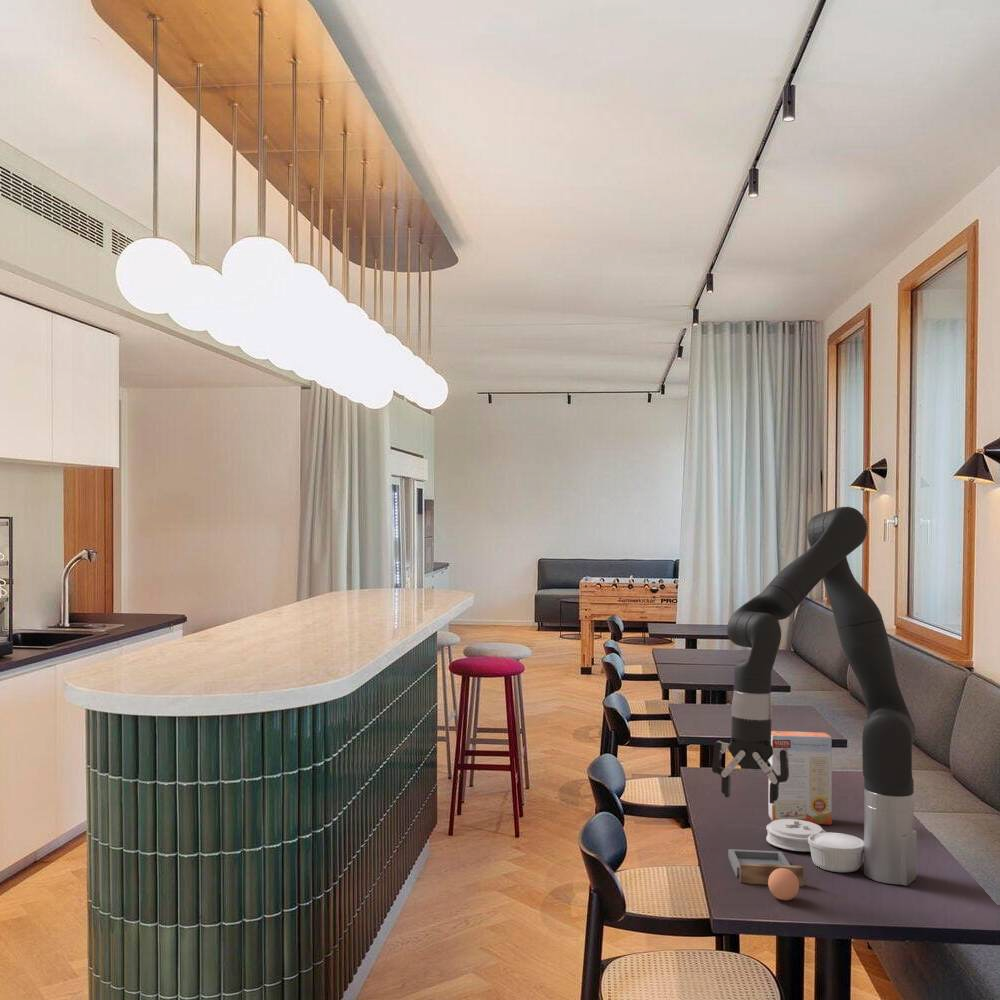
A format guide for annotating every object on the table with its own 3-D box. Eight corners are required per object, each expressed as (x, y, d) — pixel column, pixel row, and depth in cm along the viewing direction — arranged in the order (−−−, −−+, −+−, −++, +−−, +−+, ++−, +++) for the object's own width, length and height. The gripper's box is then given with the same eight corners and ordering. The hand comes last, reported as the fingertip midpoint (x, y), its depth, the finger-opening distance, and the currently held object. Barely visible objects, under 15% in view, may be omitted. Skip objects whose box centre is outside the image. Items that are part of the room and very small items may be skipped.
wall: (801, 883, 188) (801, 865, 188) (803, 886, 187) (803, 867, 187) (739, 880, 189) (739, 862, 189) (740, 883, 188) (740, 865, 188)
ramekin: (804, 855, 205) (804, 830, 205) (859, 858, 203) (859, 833, 204) (812, 873, 194) (812, 846, 194) (870, 876, 192) (870, 850, 192)
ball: (804, 898, 180) (804, 868, 181) (791, 907, 176) (791, 876, 176) (775, 891, 184) (776, 861, 184) (762, 899, 180) (763, 869, 180)
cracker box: (826, 818, 232) (826, 731, 233) (832, 826, 226) (833, 736, 227) (767, 815, 234) (768, 729, 234) (771, 823, 228) (772, 734, 228)
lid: (755, 845, 212) (755, 822, 212) (783, 833, 221) (783, 811, 221) (809, 860, 203) (809, 836, 203) (836, 846, 212) (836, 823, 212)
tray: (781, 861, 201) (781, 851, 201) (793, 880, 190) (793, 869, 190) (728, 858, 202) (728, 849, 202) (736, 877, 191) (736, 867, 191)
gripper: (792, 716, 187) (790, 800, 186) (718, 708, 193) (716, 790, 192) (786, 721, 180) (784, 809, 179) (710, 713, 186) (708, 798, 185)
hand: (749, 799), depth 185 cm, fingers open, 8 cm apart
